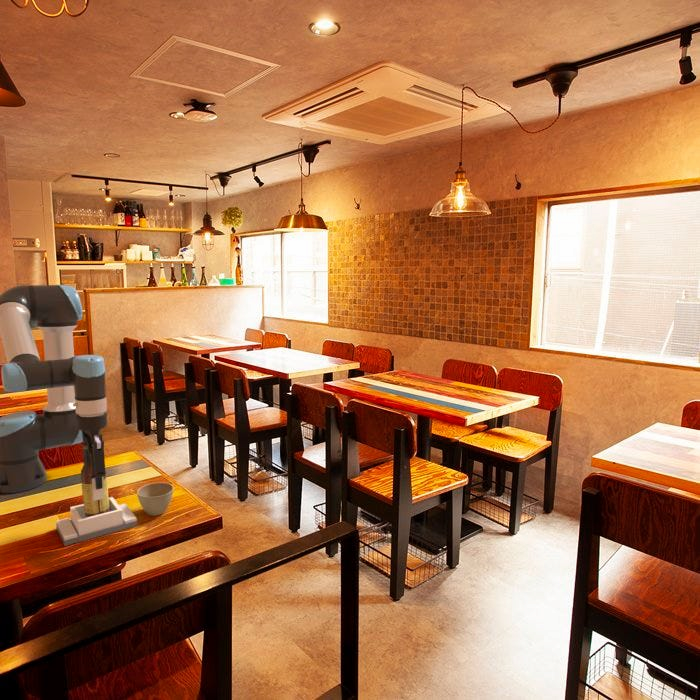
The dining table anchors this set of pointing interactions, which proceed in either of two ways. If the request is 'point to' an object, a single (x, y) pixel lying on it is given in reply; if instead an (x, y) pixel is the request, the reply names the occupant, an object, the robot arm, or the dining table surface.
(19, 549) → the dining table surface
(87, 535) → the caddy
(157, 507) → the flower pot
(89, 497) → the sauce bottle
